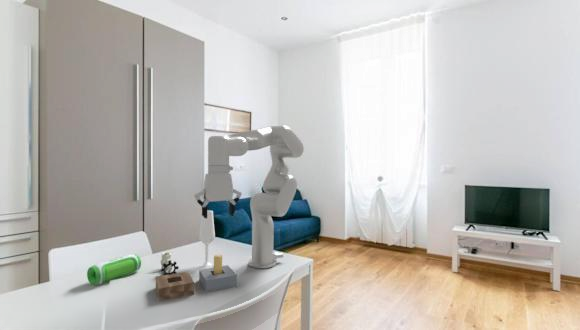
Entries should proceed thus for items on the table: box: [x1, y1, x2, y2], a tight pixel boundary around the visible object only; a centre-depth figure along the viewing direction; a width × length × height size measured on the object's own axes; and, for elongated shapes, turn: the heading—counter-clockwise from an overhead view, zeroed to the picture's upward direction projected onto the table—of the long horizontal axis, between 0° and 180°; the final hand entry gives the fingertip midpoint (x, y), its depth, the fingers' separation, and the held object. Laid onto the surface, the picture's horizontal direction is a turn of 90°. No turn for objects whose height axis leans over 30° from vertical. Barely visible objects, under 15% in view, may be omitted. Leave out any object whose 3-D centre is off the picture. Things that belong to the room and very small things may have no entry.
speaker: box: [86, 254, 142, 286], centre depth 119 cm, size 18×7×8 cm, turn 150°
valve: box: [160, 252, 180, 276], centre depth 126 cm, size 7×7×12 cm
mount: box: [155, 271, 195, 302], centre depth 106 cm, size 11×11×5 cm
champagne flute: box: [198, 209, 216, 267], centre depth 132 cm, size 7×7×24 cm
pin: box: [213, 254, 223, 275], centre depth 113 cm, size 3×3×10 cm
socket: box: [198, 264, 238, 293], centre depth 113 cm, size 11×11×5 cm
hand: (218, 216), depth 113 cm, fingers open, 9 cm apart
